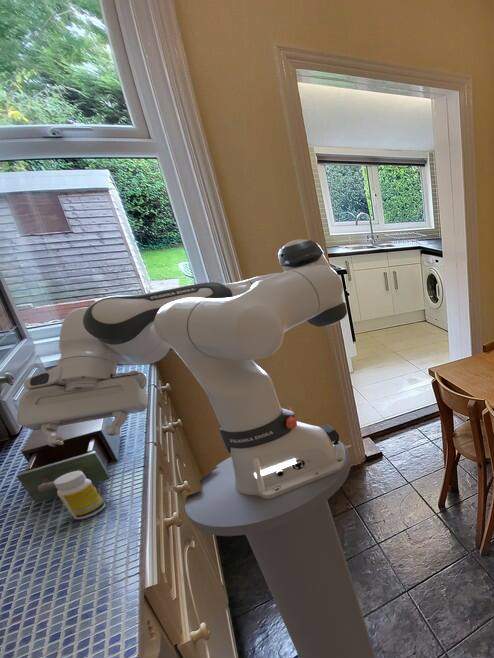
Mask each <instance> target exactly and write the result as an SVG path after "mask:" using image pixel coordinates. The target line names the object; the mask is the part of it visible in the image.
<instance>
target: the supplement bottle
mask: <svg viewBox="0 0 494 658" xmlns="http://www.w3.org/2000/svg"><path fill="white" fill-rule="evenodd" d="M54 484H55V486H56V488H57V489H58V491H57V494H58V496H57V497H58V498H59V499H60V500H61V502H62V504H63V505H64V507H65V508H66V510H67V512H68V513H69V514H70V515H71V517H72V518H73V519H74V520H83V519H88V518H90V517H92V516H95V515H96V514H98V513H100V512H101V511H103V509H104V508H106V507H105V506H106V503H105V501H104V500H103V498H102V496H101V495H100V493H99V492H98V489H97V488H96V486H95V484H93V483H92V482H91V480H89V479H86V476H85V475H84V473H83V472H82V471H74V472H70V473H67V474H64V475H62V476H60V477H59V478H57V479H56V480H55V481H54Z"/></svg>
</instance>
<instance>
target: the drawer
mask: <svg viewBox="0 0 494 658" xmlns="http://www.w3.org/2000/svg"><path fill="white" fill-rule="evenodd" d="M108 458H109V453H108V451H107V450H106V448H105V446H104V444H103V442H102V441H101V439H100V437H99V435H98V434H97V435H93V436H89V437H86V438H82V439H79V440H75V441H71V442H68V443H64V444H63V445H60V446H55V447H50V448H46V449H43V450H39V451H36V452H34V453H33V455H32V457H31V459H30V461H29V463H28V462H27V465H26V467H25V469H24V471H22V472H19V473H17V474H16V478H17V479H18V481H19V482H20V483H21V485H22V486H23V488H24V489H25V491H26V492H27V494H28V495H29V497H30V498H31V500H32V501H33V502H34V504H39V503H40V502H44V501H47V500H50V499H53V498H56V497H59V496H58V494H57V491H58V489H57V488H56V486H55V484H54V481H55V480H56V479H57V478H59V477H60V476H62V475H64V474H67V473H70V472H74V471H82V472H83V473H84V475H85V476H86V479H89V480H91V482H92V483H93V485H95V484H100V483H102V482H105V481H108V480H110V479H111V475H110V473H109V472H108V470H107V469H108V465H109V464H108Z"/></svg>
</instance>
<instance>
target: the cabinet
mask: <svg viewBox="0 0 494 658" xmlns="http://www.w3.org/2000/svg"><path fill="white" fill-rule="evenodd" d="M113 421H114V420H113V419H112V417H108V418H102V419H97V420H91V421H85V422H80V423H74V424H68V425H62V426H58V431H54V432H55V433H56V434H57V435H59V436H62V437H64V441H63V442H64V443H68V442H71V441H75V440H79V439H82V438H86V437H89V436H93V435H97V434H98V435H99V437H100V439H101V441H102V442H103V444H104V446H105V448H106V450H107V451H108V453H109V458H108V464H107V465H110V464H113V463H116V462H119V457H120V451H121V450H120V448H121V440H122V436H121V433H120V434H119V435H113V436H110V435H107V434H106V431H107V429H106V426H110V425H111V424H112V423H113ZM50 447H52V446H49V445H48V437H47V436H46V435H45V434H44V432H43V431H42V430H41V429H40V430H32V431H31V433H30V435H29V437H28V438H27V441H26V442H25V444H24V446H23V448H22V450H21V451H20V452H21V454H22V455H23V457H24V459H25V460H26V461H27V464H28V463H29V461H30V459H31V457H32V455H33V453H34V452H36V451H39V450H43V449H46V448H50Z"/></svg>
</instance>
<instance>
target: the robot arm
mask: <svg viewBox="0 0 494 658" xmlns="http://www.w3.org/2000/svg"><path fill="white" fill-rule="evenodd" d="M324 253H325V252H324V251H323V249H322V247H321V246H320V245H319V244H318V243H317V242H316V241H315V240H312V239H303V238H302V239H301V238H300V239H299V238H298V239H293V240H290V241H289V242H286V244H284V245H283V246H282V247H281V248H279V250H278V252H277V258H278V263H279V266H280V267H282V270H283V272H274V273H267V274H262V275H257V276H255V277H251V278H248V279H244V280H241V281H236V282H228V283H227V282H225V283H220V282H215V281H214V282H212V281H211V282H200V283H194V284H189V285H184V286H178V287H173V288H168V289H163V290H158V291H152V292H147V293H141V294H126V295H124V294H123V295H122V294H121V295H110V296H105V297H102V298H99V299H98V300H95V301H93V302H92V303H91V304H90V305H89V306H87V307H79V308H75V309H73V310H72V311H70V312H68V314H67V315H66V316H65V317H64V319H63V321H62V323H61V327H60V331H59V332H60V333H59V340H58V349H59V351H60V357H59V359H58V361H57V365H56V366H55V367H52V368H51V369H50V368H49V369H48V370H45V371H43V372H41V373H38V374H35V375H33V376H30V377H28V378H26V379H25V380H24V381H23V387H24V388H25V389H27V390H26V391H24V393H23V394H22V395H21V397H20V399H19V402H18V406H17V412H16V422H17V424H18V425H19V426H21V427H22V428H25V429H28V430H32V431H33V430H40V429H41V430H42V431H43V432H44V434H45V435H46V436H47V437H48V445H49V446H52V447H55V446H60V445H63V444H64V442H63V441H64V437H62V436H59V435H57V434H56V433H55V432H54V431H58V426H62V425H68V424H74V423H80V422H85V421H91V420H97V419H102V418H108V417H111V418H114V420H112V421H113V423H112V424H111V425H110V426H106V429H107V431H106V434H107V435H110V436H113V435H119V434H120V435H121V428H122V426H123V425H124V424H125V422H126V421H127V420H128V415H130V414H136V413H142V412H145V411H146V409H147V408H148V407H149V399H148V394H147V389H146V386H147V376H146V374H145V373H143V372H139V371H137V370H132V371H129V372H118V373H117V366H118V365H122V366H148V365H153V364H155V363H158V362H160V361H162V360H164V358H166V356H167V355H168V354H169V353H170V350H173V351H174V352H175V353H176V354H177V356H178V357H179V358H180V359H181V360H182V362H183V364H184V365H185V366H186V367H187V369H188V370H189V371H190V373H191V374H192V376H193V377H194V378H195V380H197V382H198V384H199V385H200V387H201V388H202V389H203V391H204V393H205V395H206V396H207V398H208V400H209V403H210V405H211V407H212V409H213V412H214V414H215V417H216V419H217V421H218V424H219V429H218V430H219V435H220V438H221V440H222V443H223V445H224V448H226V451H227V453H229V454H230V457H231V458H232V462H233V467H234V473H235V488H236V490H237V491H238V492H240V493H242V494H246V495H258V496H261V497H262V498H265V499H272V498H274V497H277V496H279V495H282V494H284V493H286V492H289V491H291V490H294V489H296V488H299V487H301V486H304V485H306V484H308V483H311V482H313V481H316V480H318V479H321V478H323V477H325V476H328V475H330V474H333V473H335V472H338V471H340V470H341V469H342V468H343V466H344V465H345V462H346V452H345V449H344V447H343V445H342V444H341V443H342V442H341V441H340V434H339V433H338V432H337V429H335V428H334V427H332V426H330V425H329V424H327V423H326V424H324V425H321V426H318V425H313V424H309V423H305V422H301V421H298V419H297V417H296V416H295V412H294V410H293V409H292V407H291V406H289V407H288V409H287V408H284V407H281V404H280V401H279V398H278V395H277V391H276V389H275V386H274V382H273V380H272V378H271V376H270V375H269V373H267V372H266V371H265V370H264V369H263V368H261V367H260V366H259V365H258V363H256V362H255V361H254V360H259V359H265V358H269V357H270V356H272V355H274V354H275V353H277V351H278V350H279V349H280V348H281V346H282V343H283V340H284V336H285V333H286V332H288V331H290V330H291V329H293V328H294V327H296V326H299V325H301V324H303V323H305V322H307V323H309V324H310V325H313V326H315V327H318V328H321V327H331V326H334V325H336V324H338V323H340V322H341V321H342V320H343V319H344V318H345V317H347V314H348V309H347V304H346V301H345V300H344V298H343V293H344V287H343V282H342V279H341V277H340V275H339V274H338V273H337V271H335V270H334V268H332V267H331V265H330V263H329V262H328V260H327V257H325V255H324ZM339 441H340V442H341V443H340V442H339Z"/></svg>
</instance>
